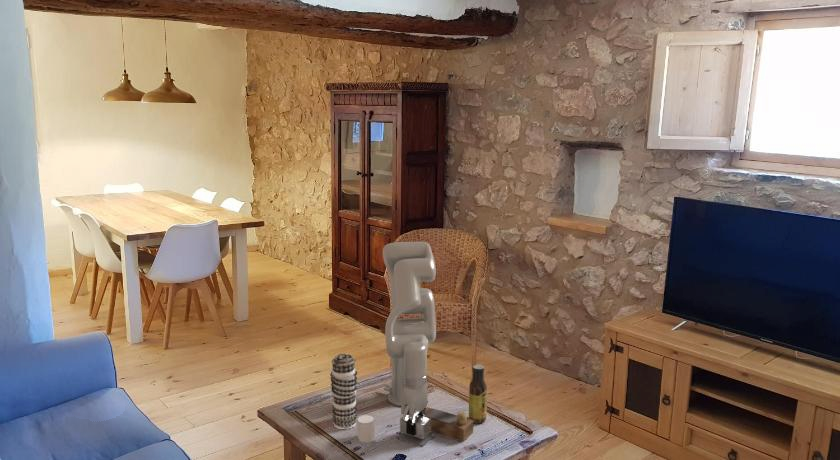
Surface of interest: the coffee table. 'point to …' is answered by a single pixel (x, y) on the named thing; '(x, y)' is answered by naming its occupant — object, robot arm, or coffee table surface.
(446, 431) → the hand plane
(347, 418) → the model tower building
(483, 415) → the sauce bottle
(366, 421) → the white cylinder
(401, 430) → the grey box with knob
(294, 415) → the coffee table surface
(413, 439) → the rubber mat
